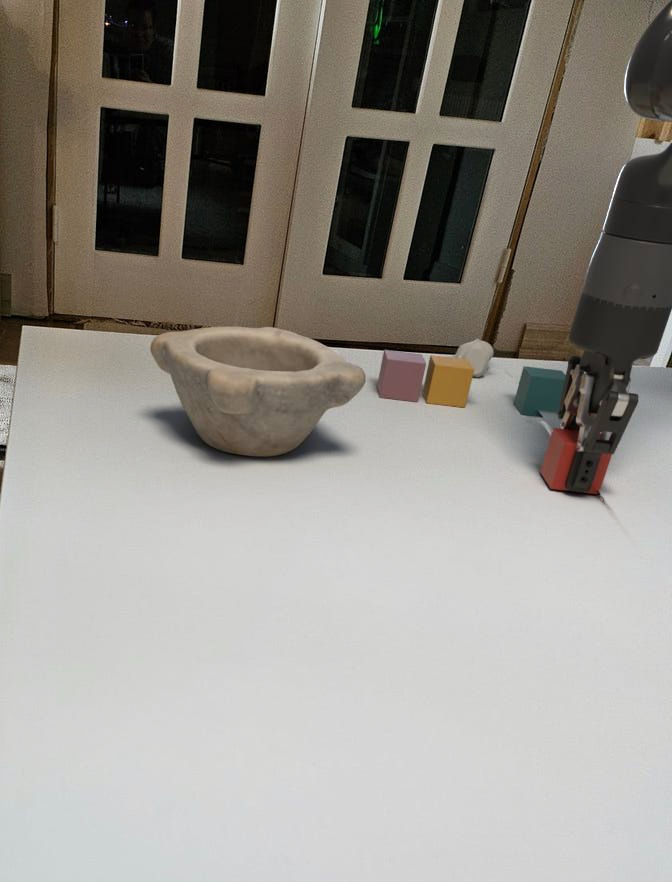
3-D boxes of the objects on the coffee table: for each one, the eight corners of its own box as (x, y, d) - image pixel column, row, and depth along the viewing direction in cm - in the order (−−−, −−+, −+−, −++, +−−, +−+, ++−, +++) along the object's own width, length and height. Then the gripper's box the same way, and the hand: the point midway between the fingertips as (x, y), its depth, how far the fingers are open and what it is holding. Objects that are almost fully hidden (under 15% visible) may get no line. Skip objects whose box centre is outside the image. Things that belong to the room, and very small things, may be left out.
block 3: (550, 407, 113) (561, 370, 111) (559, 419, 109) (571, 380, 107) (513, 403, 113) (523, 365, 111) (521, 414, 109) (531, 376, 107)
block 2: (459, 397, 113) (468, 359, 111) (465, 407, 110) (474, 369, 107) (422, 392, 114) (430, 355, 111) (426, 403, 110) (435, 364, 107)
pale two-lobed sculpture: (457, 370, 129) (496, 365, 127) (448, 382, 123) (489, 377, 121) (454, 338, 128) (494, 332, 126) (446, 348, 121) (487, 342, 119)
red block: (586, 477, 92) (600, 432, 89) (598, 494, 88) (614, 448, 85) (539, 472, 92) (553, 427, 89) (550, 488, 88) (564, 442, 86)
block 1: (413, 391, 114) (421, 354, 111) (417, 402, 110) (426, 363, 108) (376, 387, 114) (384, 349, 112) (379, 397, 110) (387, 358, 108)
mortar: (205, 480, 82) (217, 376, 77) (134, 417, 95) (140, 324, 90) (365, 467, 89) (384, 371, 84) (278, 410, 102) (291, 323, 97)
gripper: (702, 316, 75) (631, 514, 83) (645, 283, 87) (589, 459, 96) (607, 305, 75) (546, 504, 84) (563, 274, 87) (514, 451, 96)
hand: (569, 479), depth 90 cm, fingers closed on red block, 4 cm apart
